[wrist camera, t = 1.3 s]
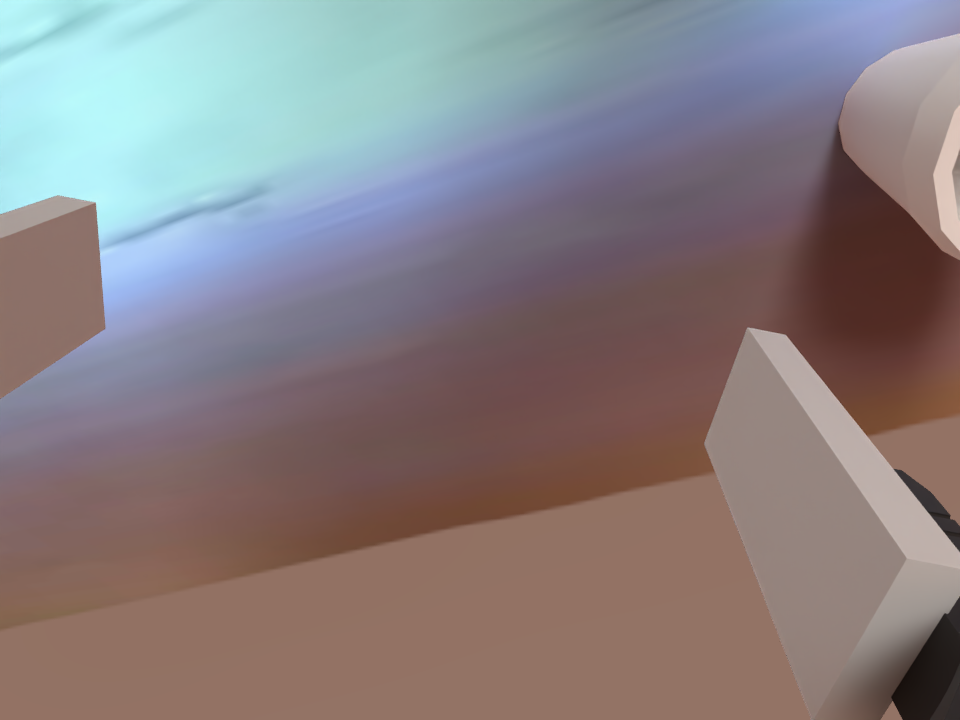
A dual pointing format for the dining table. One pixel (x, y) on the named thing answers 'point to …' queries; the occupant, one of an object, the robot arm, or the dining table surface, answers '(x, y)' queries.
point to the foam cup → (911, 133)
